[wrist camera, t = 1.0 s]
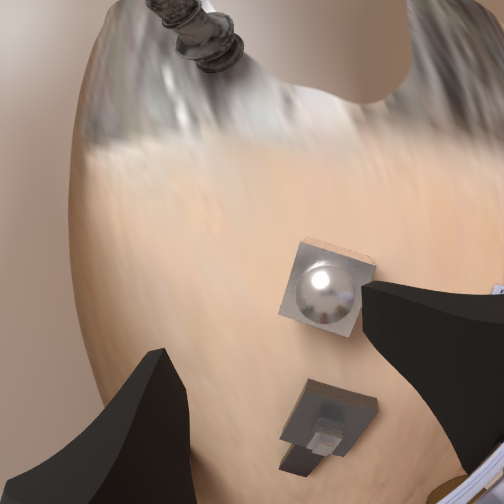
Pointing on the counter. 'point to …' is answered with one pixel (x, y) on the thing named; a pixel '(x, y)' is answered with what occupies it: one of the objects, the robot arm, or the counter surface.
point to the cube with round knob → (326, 286)
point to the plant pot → (448, 488)
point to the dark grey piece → (324, 425)
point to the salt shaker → (200, 33)
